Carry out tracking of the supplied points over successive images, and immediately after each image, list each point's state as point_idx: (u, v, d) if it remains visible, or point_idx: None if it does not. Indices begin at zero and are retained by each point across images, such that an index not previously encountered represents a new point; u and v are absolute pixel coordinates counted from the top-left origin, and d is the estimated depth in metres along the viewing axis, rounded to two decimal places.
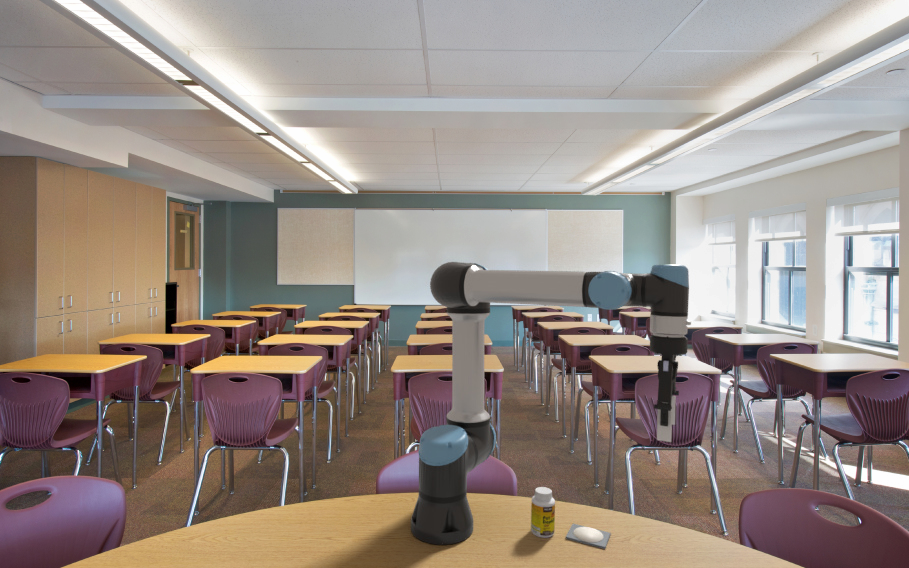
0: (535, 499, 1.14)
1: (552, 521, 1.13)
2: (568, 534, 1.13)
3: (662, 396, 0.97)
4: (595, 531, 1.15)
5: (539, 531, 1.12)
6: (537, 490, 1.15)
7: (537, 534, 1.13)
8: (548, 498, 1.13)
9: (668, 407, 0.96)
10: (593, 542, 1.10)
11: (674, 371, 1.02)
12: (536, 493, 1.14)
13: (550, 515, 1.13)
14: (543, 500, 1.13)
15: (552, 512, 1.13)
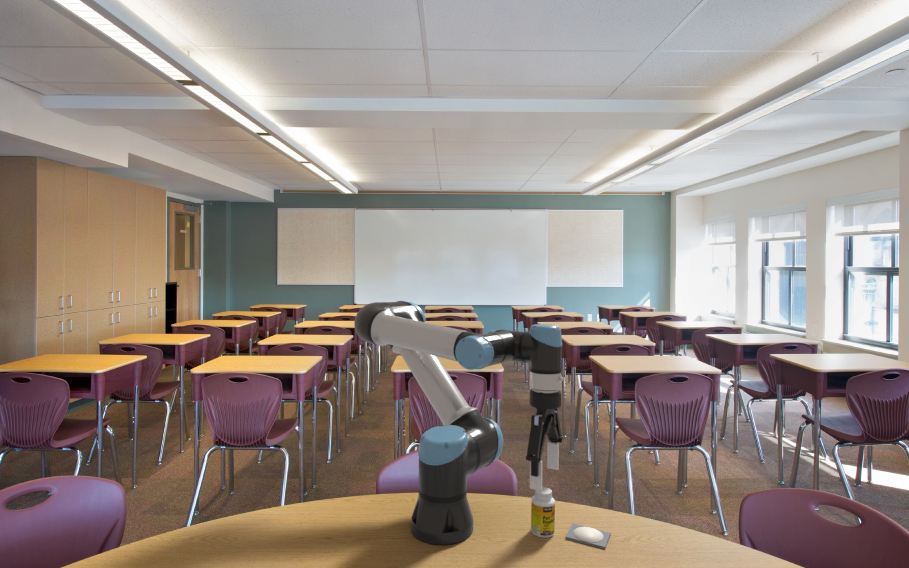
0: (535, 499, 1.14)
1: (552, 521, 1.13)
2: (568, 534, 1.13)
3: (531, 449, 1.07)
4: (595, 531, 1.15)
5: (540, 531, 1.12)
6: (537, 490, 1.15)
7: (537, 534, 1.13)
8: (548, 498, 1.13)
9: (535, 460, 1.05)
10: (593, 542, 1.10)
11: (547, 424, 1.11)
12: (536, 493, 1.14)
13: (550, 515, 1.13)
14: (543, 500, 1.13)
15: (552, 512, 1.13)
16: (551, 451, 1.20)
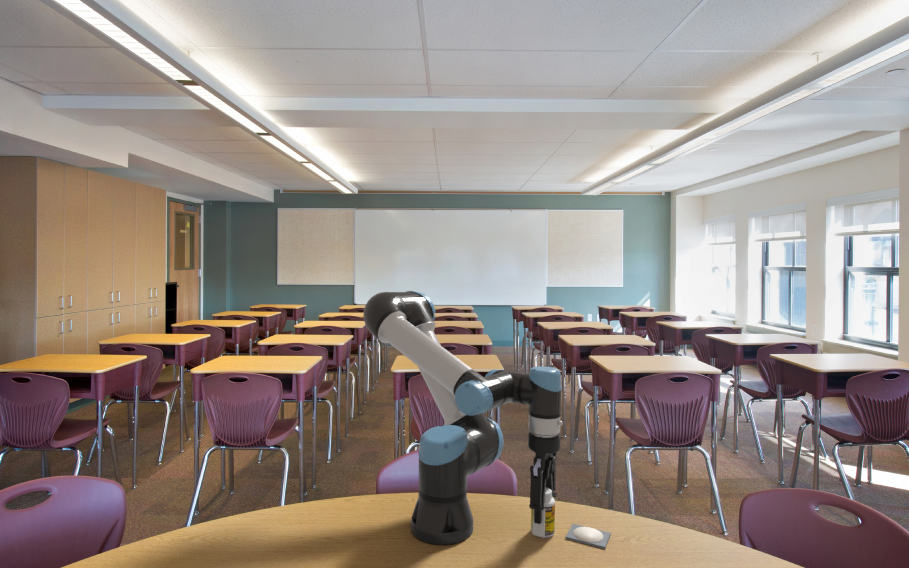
0: None
1: (552, 521, 1.13)
2: (568, 534, 1.13)
3: (533, 499, 1.09)
4: (595, 531, 1.15)
5: None
6: None
7: None
8: (548, 498, 1.13)
9: (538, 509, 1.09)
10: (593, 542, 1.10)
11: (546, 470, 1.12)
12: None
13: (550, 515, 1.12)
14: None
15: (552, 512, 1.13)
16: None
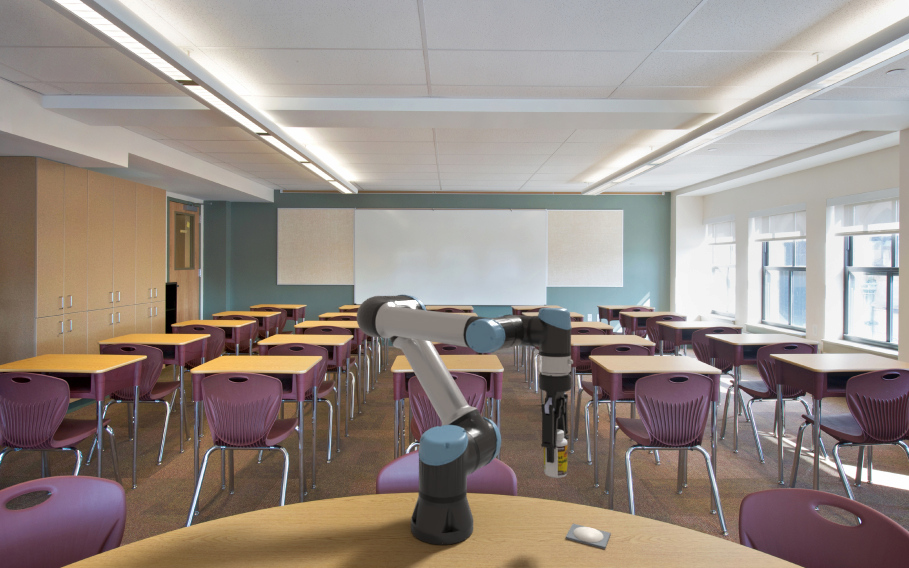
0: None
1: (565, 461, 1.12)
2: (568, 534, 1.13)
3: (545, 437, 1.09)
4: (595, 531, 1.15)
5: None
6: None
7: None
8: (560, 438, 1.12)
9: (551, 447, 1.08)
10: (593, 542, 1.10)
11: (558, 409, 1.11)
12: None
13: (563, 455, 1.12)
14: None
15: (565, 452, 1.12)
16: None
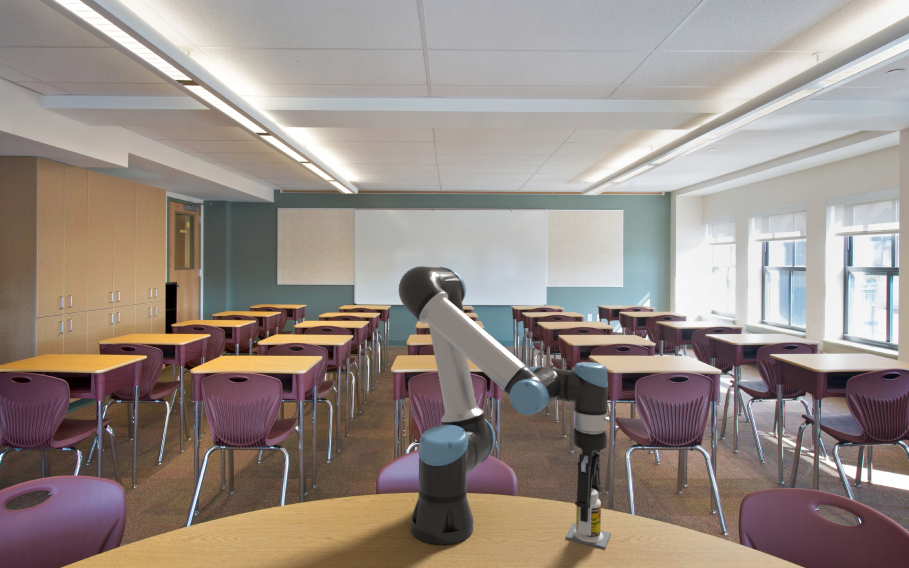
0: None
1: (598, 522, 1.11)
2: (568, 534, 1.13)
3: (580, 496, 1.07)
4: None
5: None
6: None
7: (583, 535, 1.11)
8: (594, 499, 1.12)
9: (586, 507, 1.07)
10: (593, 542, 1.10)
11: (593, 467, 1.10)
12: None
13: (597, 516, 1.11)
14: None
15: (599, 513, 1.11)
16: None
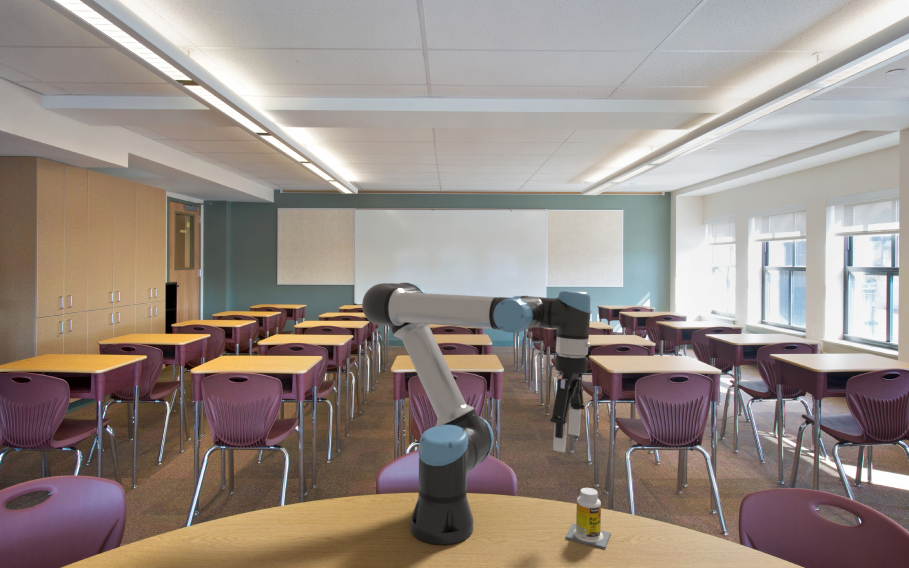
0: (581, 500, 1.13)
1: (598, 522, 1.11)
2: (568, 534, 1.13)
3: (556, 411, 1.08)
4: None
5: (586, 532, 1.11)
6: (583, 491, 1.13)
7: (583, 535, 1.11)
8: (594, 499, 1.12)
9: (560, 421, 1.07)
10: (593, 542, 1.10)
11: (573, 388, 1.13)
12: (582, 494, 1.13)
13: (597, 516, 1.11)
14: (589, 501, 1.12)
15: (598, 513, 1.11)
16: (573, 417, 1.22)
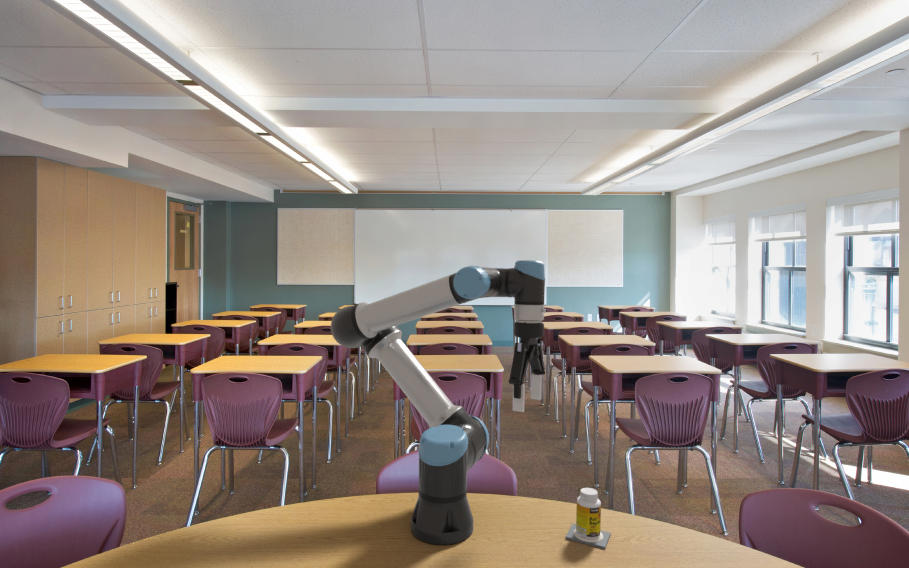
0: (581, 500, 1.13)
1: (598, 522, 1.11)
2: (568, 534, 1.13)
3: (514, 372, 1.14)
4: None
5: (586, 532, 1.11)
6: (583, 491, 1.13)
7: (583, 535, 1.11)
8: (594, 499, 1.12)
9: (517, 382, 1.13)
10: (593, 542, 1.10)
11: (530, 352, 1.19)
12: (582, 494, 1.13)
13: (597, 516, 1.11)
14: (589, 501, 1.12)
15: (598, 513, 1.11)
16: (534, 382, 1.28)
